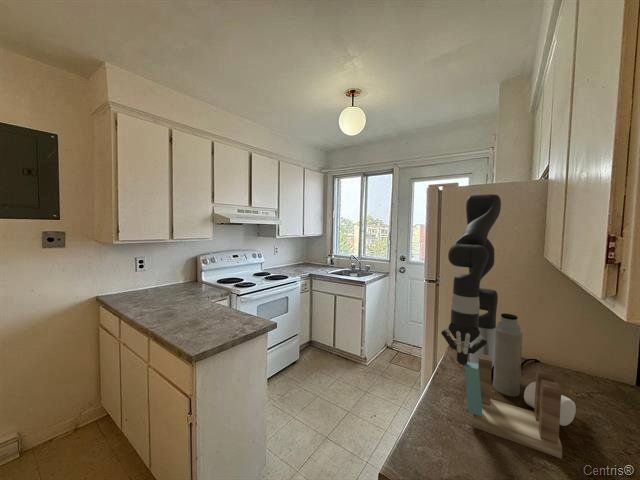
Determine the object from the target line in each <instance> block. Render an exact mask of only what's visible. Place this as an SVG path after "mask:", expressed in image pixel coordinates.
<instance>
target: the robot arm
mask: <svg viewBox="0 0 640 480" xmlns="http://www.w3.org/2000/svg"><path fill="white" fill-rule="evenodd" d="M501 201H502V199H501V198H500V196H499V195H497V194H491V193H490V194H489V193H487V194H473V195H472V194H471V195H469V196H467V199H466V202H465V212H466V224H467V225H466V226H465V228H464V230H463V233H462V235H461V236H460V237H459V238H458V239H457V240H456V241H455V242H454V243H453V244H452V245H451V246H450V249H449V250H448V255H447V257H448V261H449V263H450V264H451V265H453V266H454V267H459V268H460V267H461V268H468V273H464V274H463V273H462V274H456V275H455V276H454V277H453V286H452V287H453V288H452V289H453V290H452V297H451V304H450V308H451V310H450V324H449V325H448V327H446V328H443V329H442V330H441V332H440V333H441V335H442V337H443V338H444V339H445V341H446V342H447V344H448V345H449V347H450V348H451V349H452V350H455V351H456V352H457V353H456V361H457V362H458V364H459V365H461V366H465V364H467V362H471V363H477V364H478V362H479V354H483V355H487V356H491V357H492V369H494V368H493V367H494V354H495V332H496V327H497V326H496V325H497V309H498V302H499V301H498V300H499V295H498V292H497V291H496V290H495V289H491V288H490V289H489V288H483V287H480V286H481V285H480V284H481V281H482V279H483V278H484V277H485V276H486V275H487V274H488V273H489V272H490V271H491V270H492V268H493V267H494V265H495V247H494V245H493V244H492V242H491V240H490V239H489V238H488V235H489V233H490V231H491V229H492V227H493V226H494V225H495V223H496V221H497V219H498V217H499V216H500V213H501V210H502V209H501V208H502V202H501ZM480 310H481V311H487V312H485V313H484V314H483V313H482V314H480ZM451 335H452V336H453V338H452V336H451ZM454 339H455V340H456V341H454ZM463 343H464V344H463ZM468 356H469V361H468Z"/></svg>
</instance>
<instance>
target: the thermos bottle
mask: <svg viewBox="0 0 640 480" xmlns="http://www.w3.org/2000/svg"><path fill="white" fill-rule="evenodd" d="M500 316H501V318H500V320H499V321H498V322H497V326H496V332H495V354H494V368H493V376H492V377H493V381H492V387H493V389H494V390H495V391H496V392H498V393H500V394H503V395H505V396H507V397H518V396H519V395H520V389H521V372H522V371H521V369H522V367H521V366H522V365H521V364H522V351H523V350H522V347H523V332H522V331H521V329H522V328H521V325H520V324H518V316H517V315H515V314H511V313H501V314H500Z"/></svg>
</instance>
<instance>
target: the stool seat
mask: <svg viewBox="0 0 640 480" xmlns="http://www.w3.org/2000/svg"><path fill="white" fill-rule="evenodd" d="M478 364H479V375H480V387H481V400H482V416H479V415H475V414H472V415H473V416H472V427H473V428H474V429H477V430H481V431H484V432H486V433H489V434H491V435H494V436H497V437H501V438H502V439H506V440H509V441H511V442H514V443H516V444H519V445H523V446H525V447H528V448H531V449H533V450H537V451H539V452H541V453H545V454H547V455H550V456H553V457H556V458H558V459H563V445H562V442H561V439H560V424H559V423H560V406H561V395H562V389H561V387H560V385H559V383H557V382H555V378H556V377H555V376H556V375H555V373H554V371H553V369H549V368H543V367H539V366H536V371H535V373H536V374H535V382H536V387H535V406H534V408H533V410H534V411H532V410H529V409H527V408H523V407H518V406H515V405H511V404H510V403H509V404H508V403H505V402H502V401H498V400H496V399H493V398H491V394H492V393H491V392H492V390H491V389H492V388H491V387H492V371H493V370H492V369H493V368H492V357H491V356H487V355H483V354H479V362H478Z"/></svg>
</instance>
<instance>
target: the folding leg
mask: <svg viewBox="0 0 640 480" xmlns="http://www.w3.org/2000/svg"><path fill="white" fill-rule="evenodd" d="M464 376H465V389H466V391H465V392H466V402H467V404H466V407H465V412H466V413H467V414H472V415H473V414H475V415H479V416H482V400H481V387H480V375H479V364H477V363H471V362H470V361H467V364H465V365H464Z"/></svg>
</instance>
